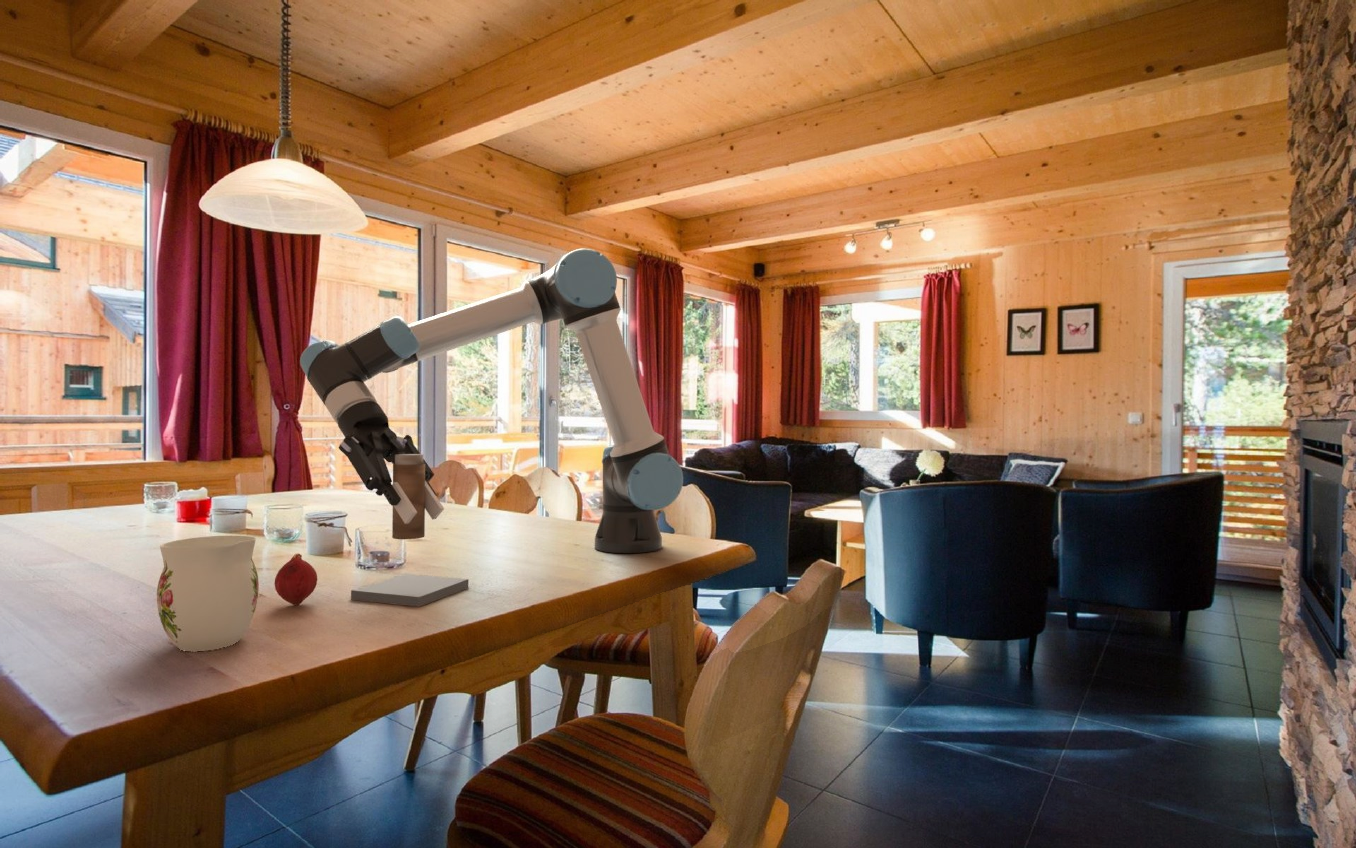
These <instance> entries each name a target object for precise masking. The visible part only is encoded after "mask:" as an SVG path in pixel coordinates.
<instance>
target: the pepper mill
mask: <svg viewBox="0 0 1356 848" xmlns="http://www.w3.org/2000/svg"><path fill="white" fill-rule="evenodd" d="M423 459H424V454H421V453H420V454H397V455H395V464H393V463H392V484H393V483H394V482H398V484H399V485H400V486H401V488H402V490H403V491H404V493H405V494H406V496H407V497H408V499H409V500H410V502H411V503H412V505H413V506H414V508H415V509H416V511H417V513H416V515H415V516H414V517H413V519H412V520H411V521H410V522H409V523H407V524H405V523H404V521H403V520H402V518H401V517H400V515H399V514H398V512H397V511H396V509H395V507H394V506H392V525H391V526H392V527H391V528H392V530H391V531H392V534H391V537H392V539H394V540H417V539H422V538H425V537H426V536H425V535H426V533H425V532H426V531H425V530H426V529H425V525H426V524H425V523H426V522H425V520H426V518H425V517H426V515H425V514H426V512H425V511H426V509H425V464H423Z"/></svg>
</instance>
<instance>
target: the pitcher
mask: <svg viewBox="0 0 1356 848" xmlns="http://www.w3.org/2000/svg"><path fill="white" fill-rule="evenodd" d="M256 540H257V539H256V537H254V536H248V535H214V536H212V535H211V536H200V537H199V536H198V537H190V538H185V539H184V538H183V539H177V540H172V541H168V542H165V543H162V544H161V545H160V546H159V548H160V549H159V550H160V553H161V557H162V561H163V568H162V570H161V571H162V572H161V574H160V577H159V580H158V583H157V588H156V589H157V590H156V604H157V611H158V616H159V620H160V623H161V625H162V627H163V630H164V632H165V633H166V636H167V637H168V639H169V640H170V642H171V643H172V644H173V645H174V646H175V647H177V649H178V648H179V649H180V650H179V649H178V650H179V651H181V650H185V651H191V652H190V653H198V652H197V651H204V652H206V651H205V650H211V651H215V650H214V649H217V650H219V649H218V648H221V647H225V648H227V647H226V646H228V647H230V646H229V645H231V646H233V644H234V645H235V643H236V642H237V643H239V642H240V639H241V638H242V637H243V635H244V634H245V633H246V632H247V630H248V628H249V627H250V625H251V622H252V620H253V617H254V614H255V611H256V607H257V603H258V596H259V591H260V590H259V586H260V585H259V583H260V582H259V575H258V571H257V568H256V566H255V565H256V564H255V562H254V560H253V553H254V548H255V544H256ZM238 641H239V642H238ZM237 643H236V644H237ZM221 649H222V648H221ZM185 651H184V652H185ZM192 651H193V652H192ZM195 651H196V652H195Z"/></svg>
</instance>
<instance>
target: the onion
mask: <svg viewBox="0 0 1356 848" xmlns="http://www.w3.org/2000/svg"><path fill="white" fill-rule="evenodd" d="M302 556H303V555H302V554H301V553H295V554H293V556H292V557H291V558H290V559H289V561H286V563H284V564H283V565H282V567H280V569H279V570H278V571H277V573H276V576H275V578H274V582H273V583H274V589H275V591H276V593H277V595H278V596H279V597H280V598H282V600H284V601H285V602H286V603H289V604H291V605H293V606H299V605H300V604H302V603H303V602H304V601H305V600H306V599H307V598H308V597H309V596H310V595H312V594H313V592H314V591H315V589H316V587H317V584H318V574H317V572H316V571H317V570H315V568H314V567H313V566H312V565H311V563H309V562H307V561H306V560H303V559H302V558H303V557H302Z"/></svg>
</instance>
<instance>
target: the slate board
mask: <svg viewBox="0 0 1356 848" xmlns="http://www.w3.org/2000/svg"><path fill="white" fill-rule="evenodd" d="M466 589H469V579H468V578H459V577H448V576H438V575H437V576H436V575H425V574H417V573H416V574H414V573H403V574H400V575H397V576H393V577H389V578H387V579H386V578H385V579H383V580H380V581H376V582H372V583H370V584H367V585H364V586H361V587H356V588H354V589H351V590H350V600H351V601H361V602H369V603H370V602H371V603H380V604H381V603H382V604H387V605H388V604H390V605H398V606H409V607H418V608H420V607H422V606H425V605H427V604H430V603H432V602H433V603H434V602H435V601H437V600H440V599H443V598H446V597H448V596H451V595H454V594H456V593H459V592H462V591H464V590H466Z"/></svg>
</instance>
